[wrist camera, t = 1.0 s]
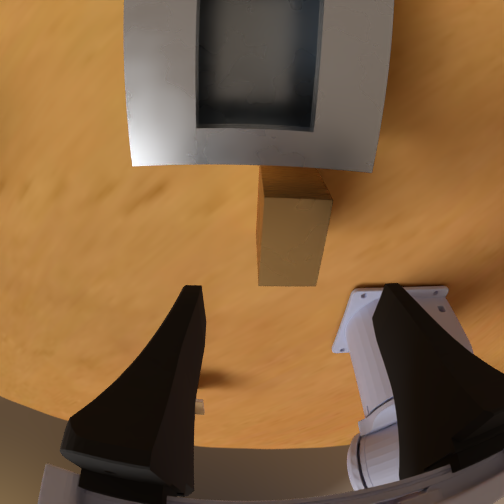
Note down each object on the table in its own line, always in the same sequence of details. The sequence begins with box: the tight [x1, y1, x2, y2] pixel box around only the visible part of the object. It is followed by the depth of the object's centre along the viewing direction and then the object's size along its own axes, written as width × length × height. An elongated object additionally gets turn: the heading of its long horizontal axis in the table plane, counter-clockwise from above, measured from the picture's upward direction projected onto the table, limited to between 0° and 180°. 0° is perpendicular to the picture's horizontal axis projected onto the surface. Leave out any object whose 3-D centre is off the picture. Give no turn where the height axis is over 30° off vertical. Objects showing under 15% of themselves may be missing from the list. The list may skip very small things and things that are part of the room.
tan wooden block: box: [256, 165, 333, 286], centre depth 17 cm, size 3×5×5 cm, turn 178°
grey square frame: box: [124, 0, 394, 173], centre depth 11 cm, size 10×10×5 cm
